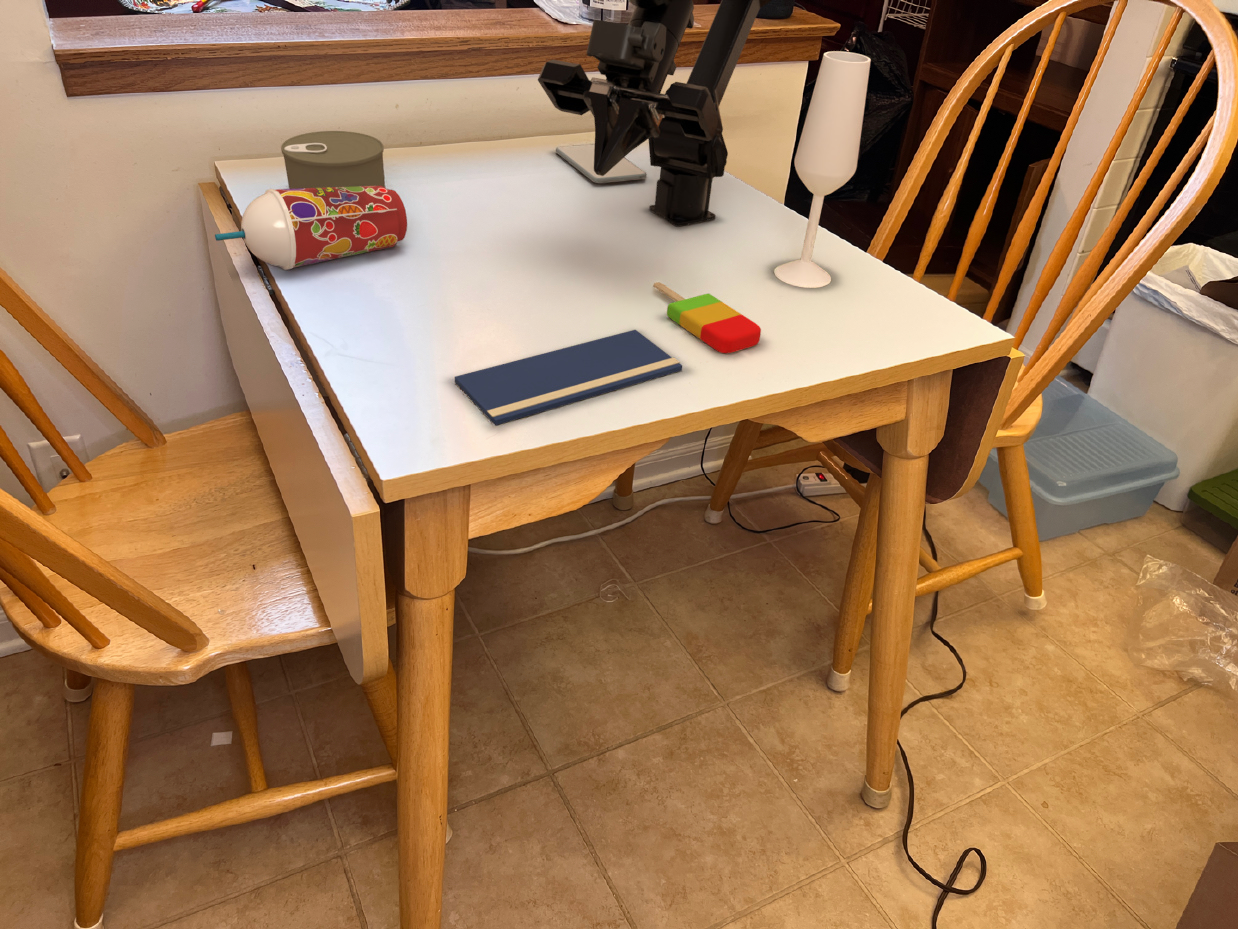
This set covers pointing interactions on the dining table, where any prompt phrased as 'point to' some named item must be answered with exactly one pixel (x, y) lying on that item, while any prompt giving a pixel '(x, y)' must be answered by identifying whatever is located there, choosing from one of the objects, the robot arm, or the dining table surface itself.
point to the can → (333, 160)
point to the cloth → (565, 376)
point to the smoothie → (320, 224)
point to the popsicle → (712, 321)
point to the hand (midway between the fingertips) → (598, 173)
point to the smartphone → (584, 163)
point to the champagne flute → (828, 149)
